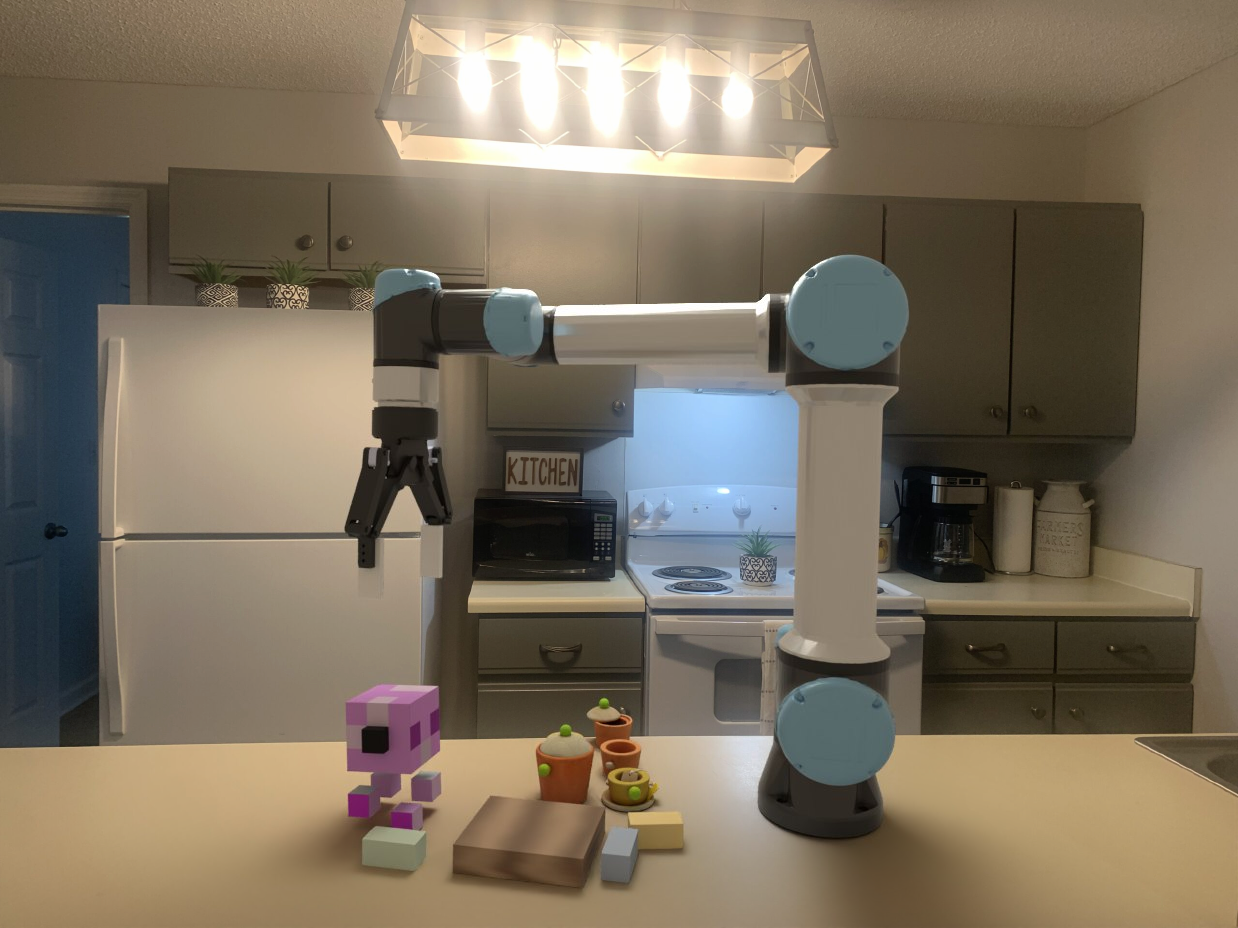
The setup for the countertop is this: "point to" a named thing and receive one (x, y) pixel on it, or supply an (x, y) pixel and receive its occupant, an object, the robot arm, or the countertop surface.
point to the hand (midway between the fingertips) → (402, 586)
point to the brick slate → (619, 854)
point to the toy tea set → (571, 761)
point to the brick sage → (394, 848)
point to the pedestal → (531, 841)
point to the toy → (393, 749)
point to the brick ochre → (657, 829)
